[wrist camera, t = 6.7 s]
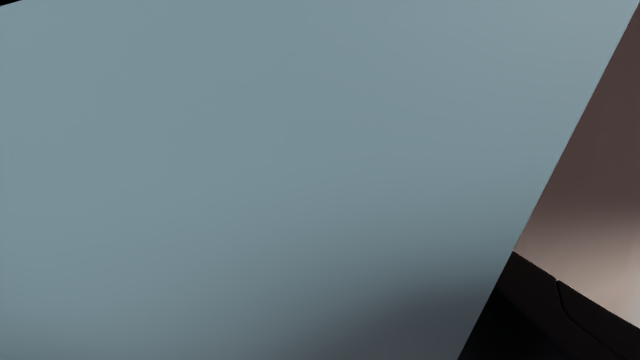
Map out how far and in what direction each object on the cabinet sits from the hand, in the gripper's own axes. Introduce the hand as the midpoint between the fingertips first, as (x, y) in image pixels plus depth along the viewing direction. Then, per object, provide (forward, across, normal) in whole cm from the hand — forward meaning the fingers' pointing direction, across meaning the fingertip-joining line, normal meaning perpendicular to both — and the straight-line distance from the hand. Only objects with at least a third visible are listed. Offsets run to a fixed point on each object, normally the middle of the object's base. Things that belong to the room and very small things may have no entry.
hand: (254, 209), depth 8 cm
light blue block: (+3, 0, 0) cm, 3 cm away
